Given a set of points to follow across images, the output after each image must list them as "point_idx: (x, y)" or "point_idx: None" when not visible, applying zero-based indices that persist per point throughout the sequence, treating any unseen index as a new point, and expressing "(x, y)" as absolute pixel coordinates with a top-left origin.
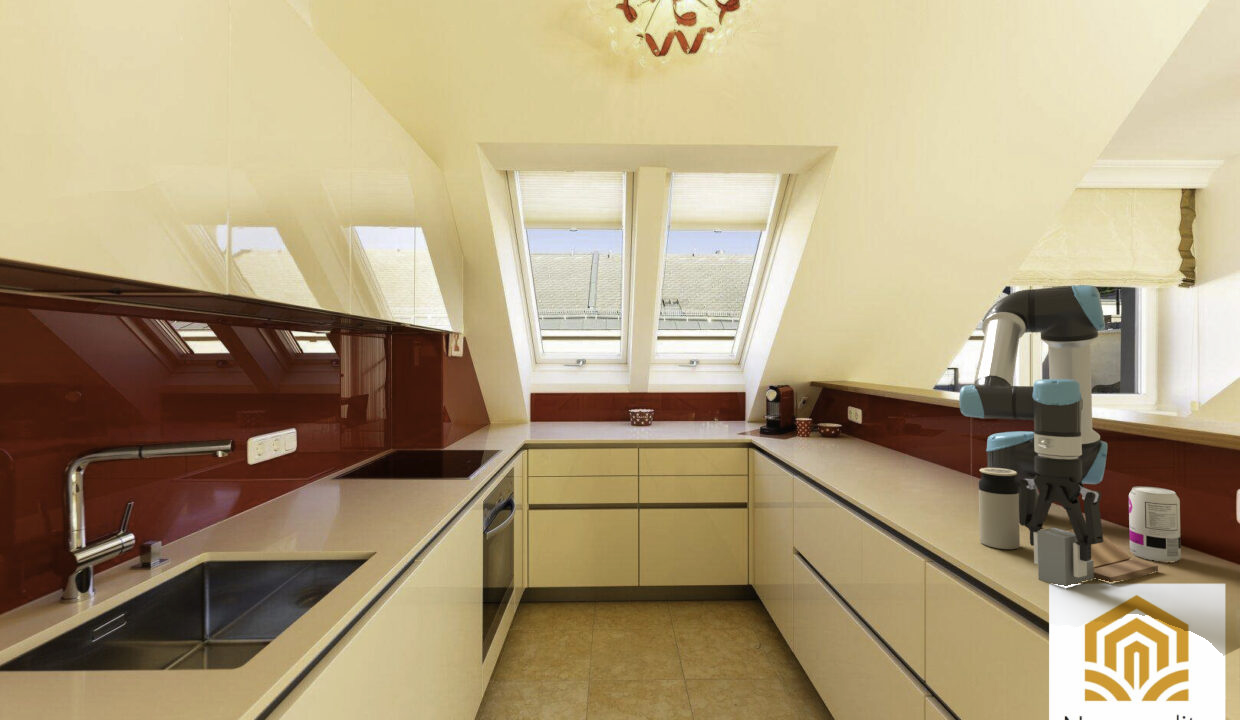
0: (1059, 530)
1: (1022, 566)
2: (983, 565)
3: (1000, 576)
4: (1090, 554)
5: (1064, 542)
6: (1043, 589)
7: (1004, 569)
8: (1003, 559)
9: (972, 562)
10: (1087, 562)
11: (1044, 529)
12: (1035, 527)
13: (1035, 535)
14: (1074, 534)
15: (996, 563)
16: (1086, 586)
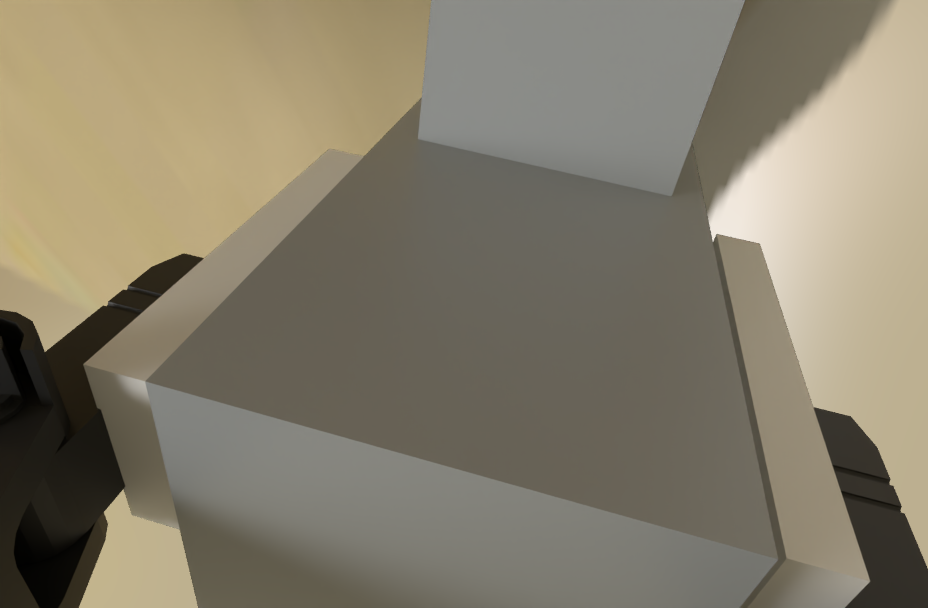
0: (336, 517)
1: (198, 59)
2: (116, 273)
3: None
4: (884, 504)
5: None
6: None
7: (209, 245)
8: (26, 7)
9: (58, 270)
10: (740, 8)
11: (197, 586)
12: (84, 576)
13: None
14: (644, 599)
15: (99, 163)
16: (725, 132)
